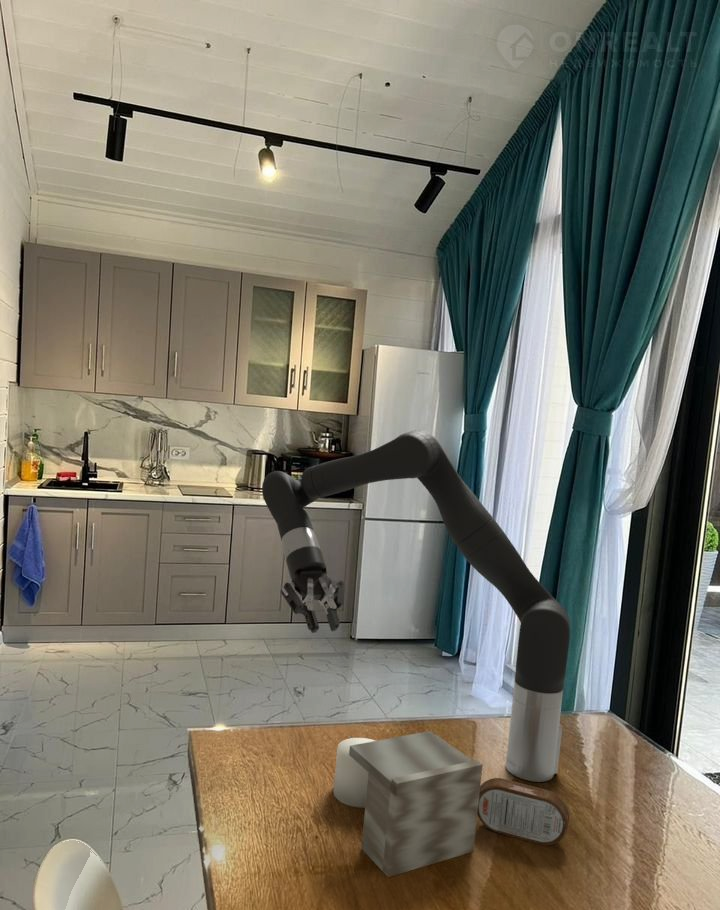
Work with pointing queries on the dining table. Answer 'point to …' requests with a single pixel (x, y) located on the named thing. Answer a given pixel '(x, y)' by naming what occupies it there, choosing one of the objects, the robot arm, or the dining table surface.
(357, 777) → the paper roll
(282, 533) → the robot arm
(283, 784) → the dining table surface
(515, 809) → the tin
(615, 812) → the dining table surface
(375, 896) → the dining table surface
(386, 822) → the overhanging lid box
